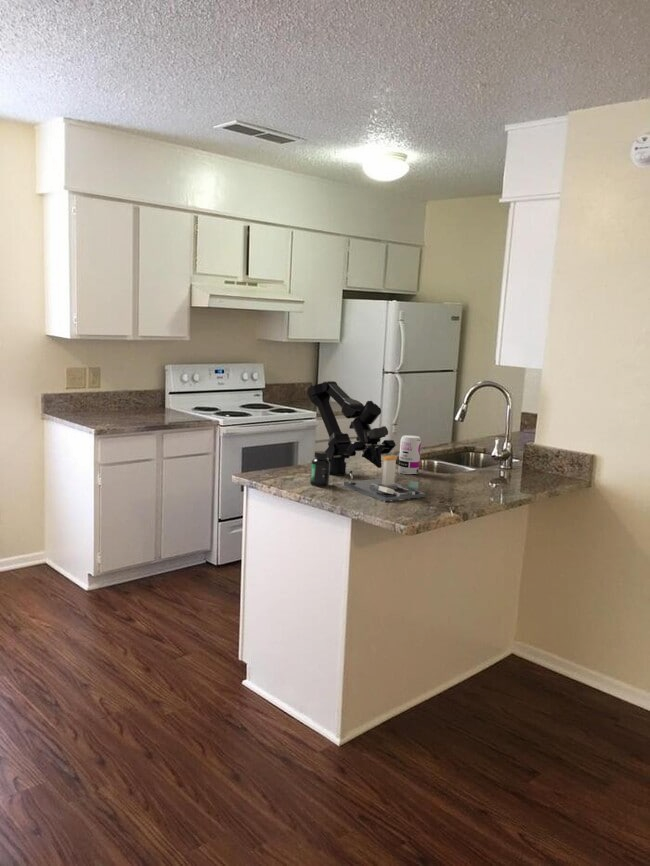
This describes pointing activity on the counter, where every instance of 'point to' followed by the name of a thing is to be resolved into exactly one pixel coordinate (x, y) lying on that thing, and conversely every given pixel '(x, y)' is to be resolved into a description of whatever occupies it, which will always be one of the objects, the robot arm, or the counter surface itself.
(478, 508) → the counter surface
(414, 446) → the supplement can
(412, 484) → the push button
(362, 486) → the console
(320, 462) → the supplement bottle
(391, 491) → the rocker switch
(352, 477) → the toggle lever
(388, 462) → the slide paddle
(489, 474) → the counter surface
